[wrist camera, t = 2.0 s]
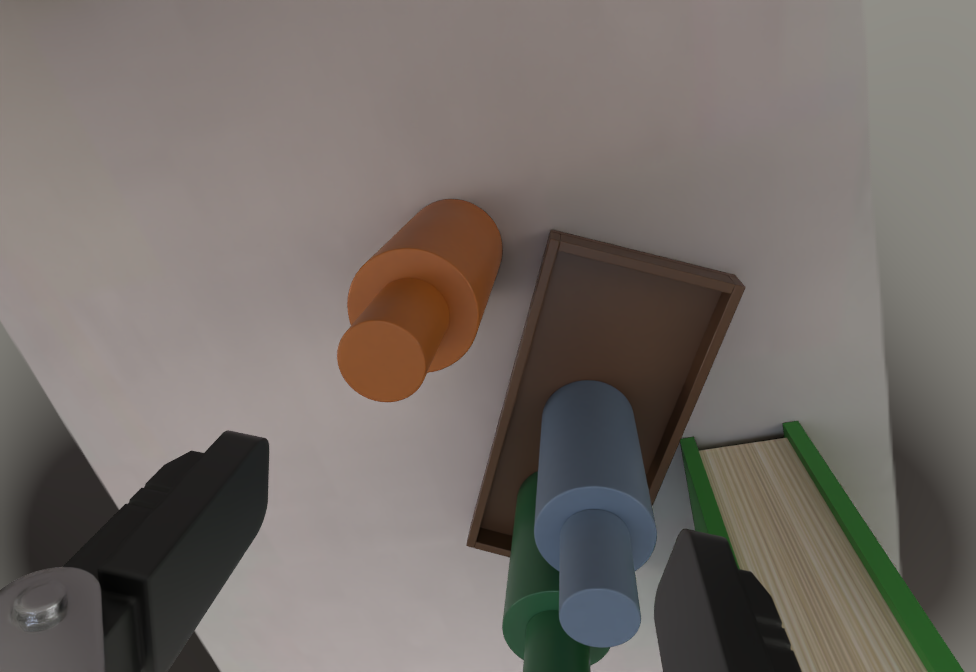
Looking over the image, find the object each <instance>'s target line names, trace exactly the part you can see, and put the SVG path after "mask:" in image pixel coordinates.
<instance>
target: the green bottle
mask: <svg viewBox="0 0 976 672" xmlns="http://www.w3.org/2000/svg"><path fill="white" fill-rule="evenodd" d="M537 481H538V471H537V472H535V473H533V474H532V475H530V476H529V477H528V478H527V479H526V480H525V481H524V482H523V483H522V485H521V487H520V489H519V491H518V495H517V503H516V511H515V520H514V529H513V537H512V546H511V555H510V563H509V572H508V581H507V589H506V598H505V607H504V615H503V625H502V629H503V635H504V638H505V640H506V642H507V644H508V646H509V647H510V649H511V650H512V651H513V652H514V653H515V654H516V655H517V656H519V657H520V658H521V659H523V660H524V665H523V672H591V670H590V666H591V665H593V664H594V663H596V662H598V661H599V660H601V659H602V658H603V657H604V656H605V655H606V653H607V652H608V651H609V649H610V647H605V648H599V647H592V646H587V645H584V644H582V643H579V642H577V641H576V640H574V639H573V638H571V637H570V636H569V635H568V634H567V633H566V632H565V631H564V629H563V628H562V626H561V623H560V620H559V571H558V570H556V569H555V568H554V567H552V566H551V565H550V564H549V563H548V562H547V561H546V560H545V559H544V558H543V556H542V555H541V553H540V552H539V550H538V547H537V545H536V542H535V538H534V524H535V509H536V495H537Z"/></svg>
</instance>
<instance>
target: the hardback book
mask: <svg viewBox="0 0 976 672" xmlns="http://www.w3.org/2000/svg"><path fill="white" fill-rule="evenodd" d="M783 432H784V438H781V439H774V440H768V441H761V442H754V443H747V444H741V445H734V446H727V447H720V448H714V449H707V450H700V451H699V450H698V447H697V444H696V442H695V439H694V437H690V438H683V439H681V440H680V444H681V450H682V456H683V462H684V468H685V473H686V479H687V485H688V491H689V497H690V502H691V508H692V514H693V520H694V526H695V531H698V532H703V533H708V534H712V535H717V536H722V537H725V538H726V539H727V541H728V542H729V545H730V548H731V550H732V553H733V556H734V559H735V562H736V564H737V567H738V569H741V570H746V571H750V572H752V573H753V574H754V576H755V577H756V578H757V579H758V580H759V582H760V583H761V584H762V585H763V587H764V588H765V589H766V590H767V592H768V593H769V594H770V595H771V596H772V599H773V601H774V604H775V606H776V609H777V611H778V614H779V616H780V619H781V621H782V628H784V629H785V631H786V634H787V636H788V639H789V641H790V644H791V647H790V648H791V650H793V651H794V654H795V656H796V658H797V661H798V663H799V666H800V668H801V671H802V672H964V671H963V669H962V668H961V666H960V665H959V663H958V662H957V660H956V659H955V657H954V656H953V654H952V653H951V651H950V650H949V648H948V647H947V645H946V643H945V642H944V640H943V639H942V637H941V636H940V634H939V633H938V631H937V630H936V628H935V627H934V626H933V624H932V622H931V621H930V619H929V618H928V616H927V615H926V613H925V612H924V610H923V609H922V607H921V606H920V604H919V603H918V602H917V600H916V598H915V597H914V595H913V594H912V592H911V591H910V589H909V588H908V586H907V585H906V583H905V582H904V580H903V579H902V577H901V576H900V574H899V573H898V571H897V570H896V568H895V567H894V565H893V564H892V562H891V561H890V559H889V558H888V556H887V554H886V553H885V551H884V550H883V548H882V547H881V545H880V544H879V542H878V541H877V539H876V538H875V536H874V535H873V533H872V532H871V530H870V529H869V527H868V526H867V524H866V523H865V521H864V520H863V518H862V517H861V515H860V514H859V512H858V511H857V509H856V508H855V506H854V505H853V503H852V502H851V500H850V499H849V497H848V496H847V494H846V493H845V491H844V490H843V488H842V487H841V485H840V484H839V482H838V481H837V479H836V478H835V476H834V475H833V473H832V472H831V470H830V469H829V467H828V466H827V464H826V462H825V461H824V459H823V458H822V456H821V455H820V453H819V452H818V450H817V449H816V447H815V446H814V444H813V443H812V441H811V440H810V438H809V437H808V435H807V434H806V432H805V431H804V429H803V428H802V426H801V425H800V423H799V422H798V421H794V422H787V423H783Z"/></svg>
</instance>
